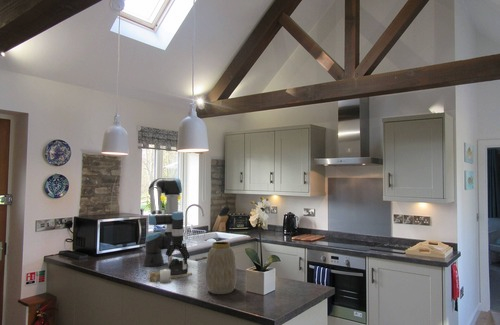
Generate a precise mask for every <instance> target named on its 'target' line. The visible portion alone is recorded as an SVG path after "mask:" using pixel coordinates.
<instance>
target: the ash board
mask: <svg viewBox="0 0 500 325" xmlns="http://www.w3.org/2000/svg"><path fill="white" fill-rule="evenodd" d="M192 275H193V272H190V271H188V272H187V273H185V274H177V275H170V280H178V279H181V278H185V277H188V276H192Z"/></svg>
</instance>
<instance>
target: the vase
mask: <svg viewBox="0 0 500 325" xmlns="http://www.w3.org/2000/svg"><path fill="white" fill-rule="evenodd" d="M230 245H231V244H230V242H229V241H215V242H212V247H211V248H210V249H209V251H208V253H207V256H206V264H205V266H206V267H205V284H206V287H207V290H208V291H209V293H211V294H215V295H227V294H230V293H232V292H233V291H234V289H235V287H236V286H237V262H236V255H235V251H234V249H233V248H232V247H231V246H230Z"/></svg>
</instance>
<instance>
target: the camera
mask: <svg viewBox="0 0 500 325" xmlns="http://www.w3.org/2000/svg"><path fill="white" fill-rule="evenodd" d="M188 265H189V264H188V263H187V269H184V270H183V260H179V258H172V262H171V263H170V264H169V266H168V267H167V269H170V275H177V274H185V273H187V272H189V270H188V269H189V268H188V267H189V266H188Z"/></svg>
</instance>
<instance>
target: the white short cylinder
mask: <svg viewBox="0 0 500 325" xmlns="http://www.w3.org/2000/svg"><path fill="white" fill-rule="evenodd" d="M159 272H160V280H159V282H160V283H162V284H165V283H170V282H171V279H170V269H168V268H161V269H159Z"/></svg>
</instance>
